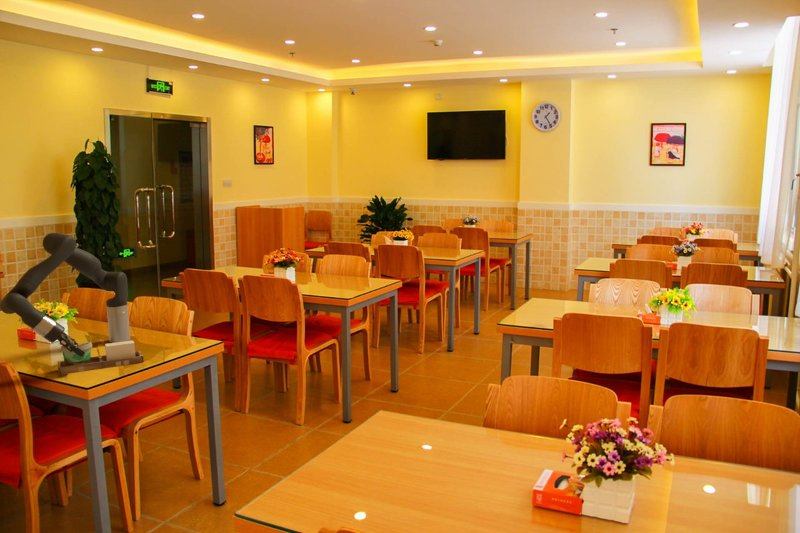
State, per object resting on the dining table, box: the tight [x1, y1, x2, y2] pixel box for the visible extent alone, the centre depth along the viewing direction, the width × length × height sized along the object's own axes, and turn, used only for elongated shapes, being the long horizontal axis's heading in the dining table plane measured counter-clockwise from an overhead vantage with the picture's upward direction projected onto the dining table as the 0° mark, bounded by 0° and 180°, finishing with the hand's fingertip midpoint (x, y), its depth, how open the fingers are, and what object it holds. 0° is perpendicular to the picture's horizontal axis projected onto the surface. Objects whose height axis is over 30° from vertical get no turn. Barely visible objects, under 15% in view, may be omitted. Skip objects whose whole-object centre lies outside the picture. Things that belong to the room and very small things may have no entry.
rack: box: [57, 350, 145, 377], centre depth 284 cm, size 11×32×4 cm, turn 117°
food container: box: [59, 340, 93, 366], centre depth 279 cm, size 12×6×10 cm, turn 136°
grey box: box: [104, 340, 136, 361], centre depth 287 cm, size 5×11×8 cm, turn 117°
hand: (82, 352), depth 280 cm, fingers open, 8 cm apart
